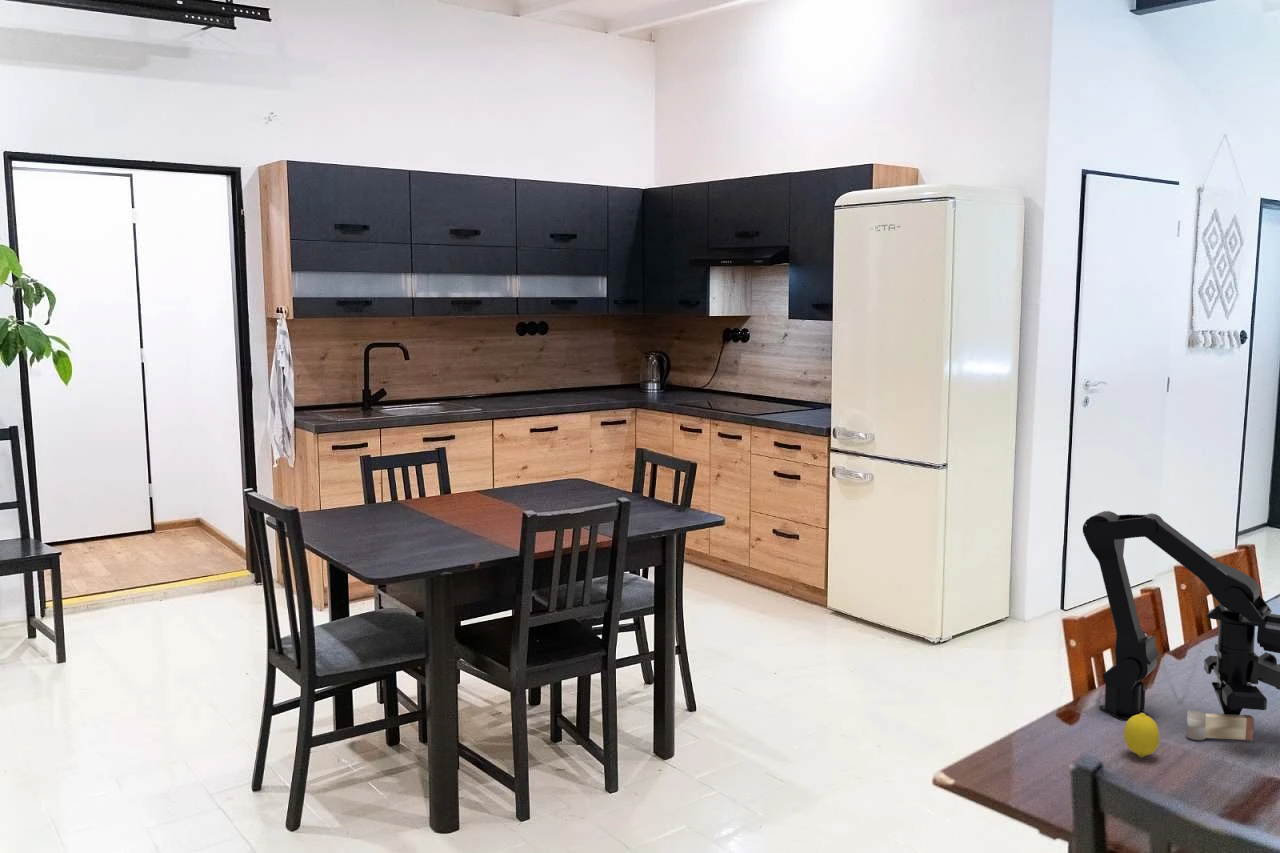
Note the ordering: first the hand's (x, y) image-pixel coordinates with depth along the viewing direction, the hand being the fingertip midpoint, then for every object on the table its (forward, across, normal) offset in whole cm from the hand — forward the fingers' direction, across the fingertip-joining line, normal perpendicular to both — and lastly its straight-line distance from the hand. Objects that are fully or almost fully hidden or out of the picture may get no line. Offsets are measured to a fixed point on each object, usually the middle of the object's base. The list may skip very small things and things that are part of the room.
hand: (1231, 726), depth 189 cm
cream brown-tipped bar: (+1, -3, +3) cm, 4 cm away
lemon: (+1, -14, +17) cm, 23 cm away
